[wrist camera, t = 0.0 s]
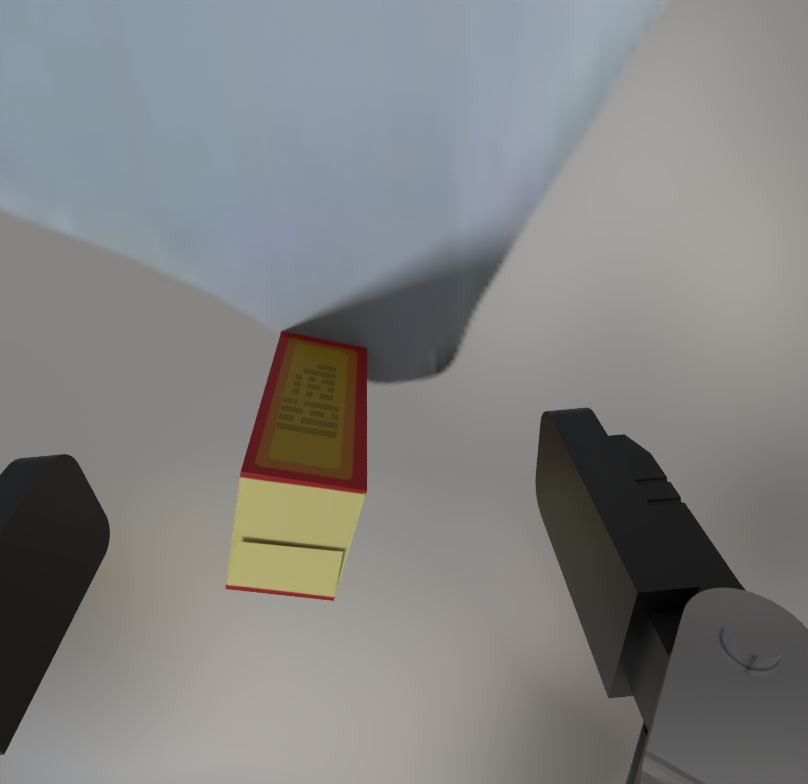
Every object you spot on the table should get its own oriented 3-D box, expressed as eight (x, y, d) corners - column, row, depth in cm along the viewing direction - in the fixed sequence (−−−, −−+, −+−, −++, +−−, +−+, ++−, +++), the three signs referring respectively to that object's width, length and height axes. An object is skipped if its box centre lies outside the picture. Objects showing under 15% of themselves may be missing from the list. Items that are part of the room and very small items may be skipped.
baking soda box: (281, 331, 40) (239, 476, 27) (366, 348, 41) (367, 495, 28) (266, 430, 45) (224, 594, 32) (342, 442, 46) (333, 606, 33)
